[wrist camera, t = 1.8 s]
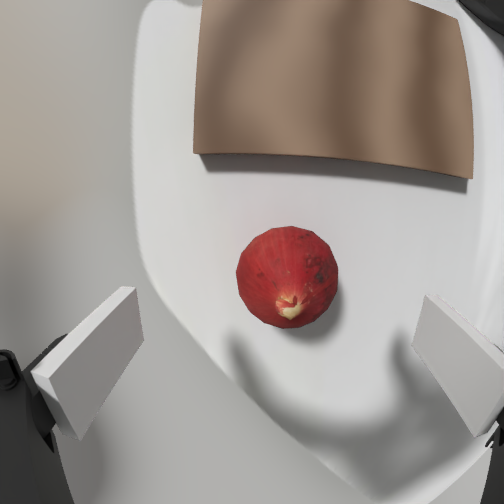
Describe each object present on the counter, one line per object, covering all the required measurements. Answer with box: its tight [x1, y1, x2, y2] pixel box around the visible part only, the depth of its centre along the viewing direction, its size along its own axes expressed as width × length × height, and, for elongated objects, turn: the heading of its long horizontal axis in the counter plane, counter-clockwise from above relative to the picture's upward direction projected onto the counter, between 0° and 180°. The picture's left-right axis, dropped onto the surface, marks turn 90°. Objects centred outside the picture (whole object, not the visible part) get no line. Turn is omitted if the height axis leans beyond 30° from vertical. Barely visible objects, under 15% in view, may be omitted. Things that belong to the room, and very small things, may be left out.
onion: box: [236, 226, 338, 329], centre depth 16 cm, size 6×6×8 cm
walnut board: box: [193, 0, 474, 179], centre depth 15 cm, size 20×14×2 cm
